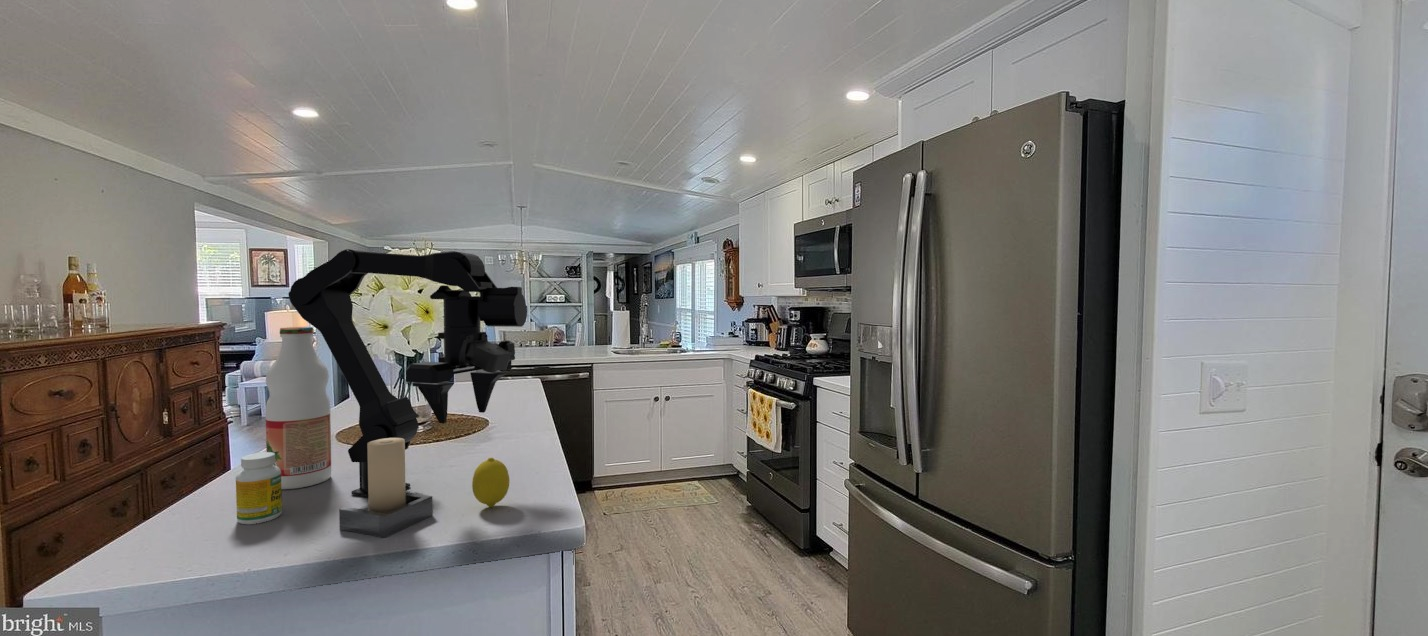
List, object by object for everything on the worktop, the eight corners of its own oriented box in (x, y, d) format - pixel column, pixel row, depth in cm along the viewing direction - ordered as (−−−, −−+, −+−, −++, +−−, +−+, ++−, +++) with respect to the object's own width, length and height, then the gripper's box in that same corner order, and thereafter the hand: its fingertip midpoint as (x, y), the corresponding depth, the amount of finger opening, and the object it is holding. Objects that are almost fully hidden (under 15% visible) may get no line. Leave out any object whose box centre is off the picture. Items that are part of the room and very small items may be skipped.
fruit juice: (315, 489, 98) (311, 328, 97) (254, 491, 97) (250, 328, 96) (341, 472, 108) (338, 325, 107) (286, 474, 106) (283, 326, 105)
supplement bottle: (243, 514, 87) (241, 453, 86) (286, 509, 89) (284, 449, 89) (231, 527, 82) (229, 462, 82) (277, 521, 84) (275, 458, 84)
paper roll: (361, 520, 83) (360, 443, 83) (393, 509, 88) (392, 436, 87) (381, 526, 81) (380, 447, 81) (412, 515, 85) (411, 440, 85)
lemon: (496, 515, 87) (496, 463, 87) (465, 512, 88) (464, 461, 88) (516, 502, 93) (516, 454, 92) (486, 499, 94) (485, 452, 93)
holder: (339, 529, 82) (339, 509, 81) (389, 508, 90) (389, 489, 90) (384, 537, 79) (384, 516, 79) (432, 515, 87) (432, 496, 87)
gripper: (460, 330, 85) (461, 433, 85) (536, 324, 102) (536, 410, 103) (402, 328, 88) (403, 428, 89) (485, 323, 106) (486, 406, 106)
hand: (463, 417), depth 97 cm, fingers open, 9 cm apart
